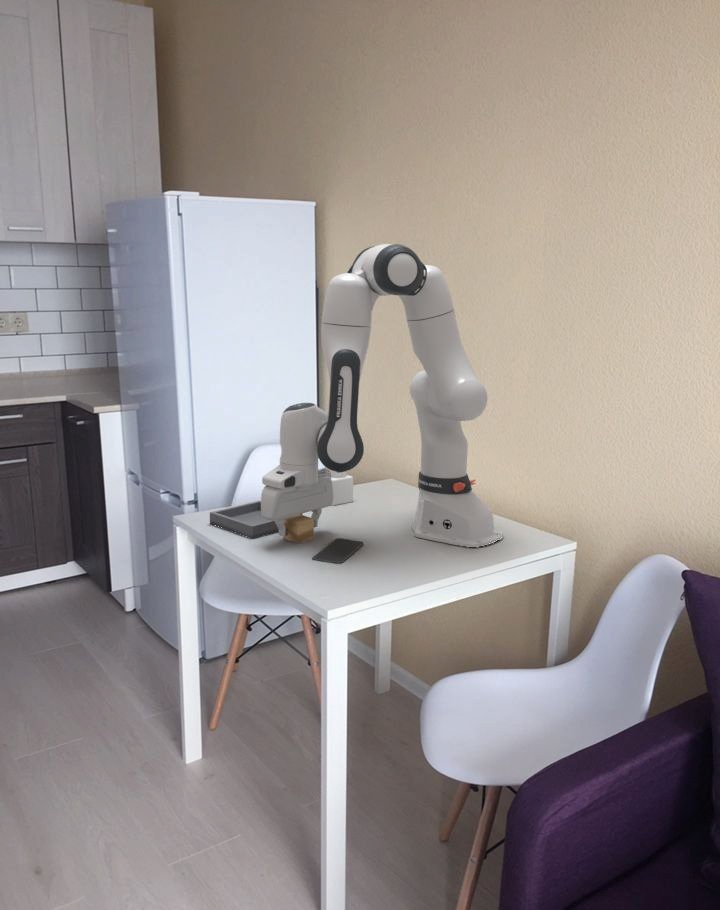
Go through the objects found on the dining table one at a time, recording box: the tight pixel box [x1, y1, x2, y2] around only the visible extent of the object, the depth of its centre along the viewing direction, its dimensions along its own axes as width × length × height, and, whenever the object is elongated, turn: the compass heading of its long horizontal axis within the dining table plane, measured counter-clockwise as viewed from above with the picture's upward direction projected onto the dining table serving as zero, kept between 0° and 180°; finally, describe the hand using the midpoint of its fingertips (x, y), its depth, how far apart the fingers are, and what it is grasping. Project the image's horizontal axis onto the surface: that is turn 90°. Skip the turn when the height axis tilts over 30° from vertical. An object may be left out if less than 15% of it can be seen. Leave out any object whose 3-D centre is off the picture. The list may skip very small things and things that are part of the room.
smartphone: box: [311, 537, 365, 565], centre depth 180 cm, size 7×1×15 cm
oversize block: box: [282, 514, 315, 544], centre depth 188 cm, size 5×5×5 cm
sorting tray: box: [209, 500, 304, 540], centre depth 198 cm, size 16×16×3 cm
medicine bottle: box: [324, 466, 354, 506], centre depth 220 cm, size 7×7×12 cm
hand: (298, 531), depth 188 cm, fingers open, 8 cm apart
